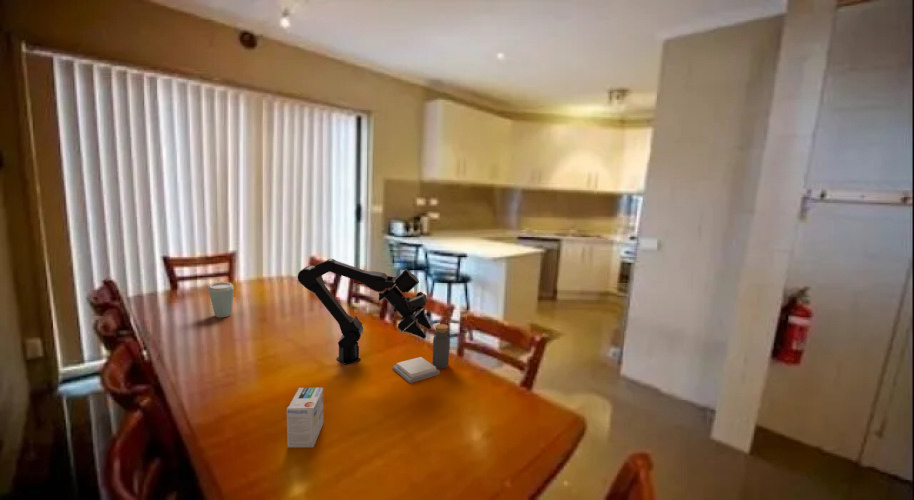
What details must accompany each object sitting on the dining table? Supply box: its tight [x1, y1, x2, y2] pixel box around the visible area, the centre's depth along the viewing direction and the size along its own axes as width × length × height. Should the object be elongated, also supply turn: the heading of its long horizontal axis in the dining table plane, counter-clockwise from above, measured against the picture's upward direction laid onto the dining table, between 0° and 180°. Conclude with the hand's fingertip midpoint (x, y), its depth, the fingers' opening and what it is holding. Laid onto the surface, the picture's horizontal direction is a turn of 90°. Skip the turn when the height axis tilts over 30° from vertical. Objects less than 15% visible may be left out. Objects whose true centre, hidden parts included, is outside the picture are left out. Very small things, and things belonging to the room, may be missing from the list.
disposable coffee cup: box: [207, 281, 235, 318], centre depth 193 cm, size 11×11×15 cm
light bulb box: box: [286, 387, 324, 448], centre depth 108 cm, size 11×7×11 cm, turn 5°
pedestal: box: [392, 356, 441, 384], centre depth 147 cm, size 12×12×2 cm
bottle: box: [431, 323, 450, 370], centre depth 152 cm, size 6×6×15 cm
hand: (427, 332), depth 151 cm, fingers open, 9 cm apart
